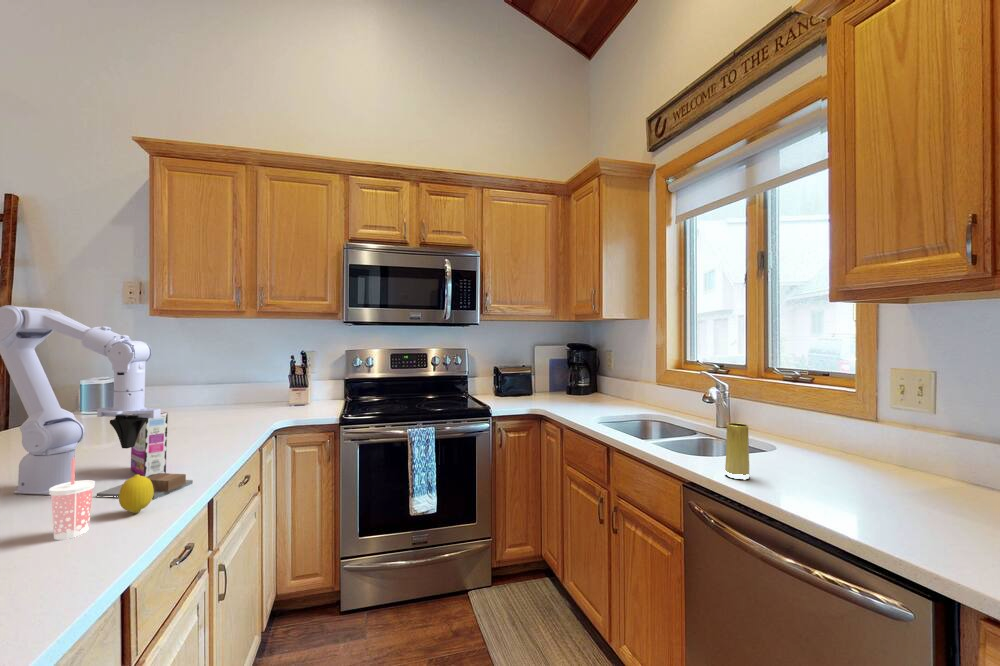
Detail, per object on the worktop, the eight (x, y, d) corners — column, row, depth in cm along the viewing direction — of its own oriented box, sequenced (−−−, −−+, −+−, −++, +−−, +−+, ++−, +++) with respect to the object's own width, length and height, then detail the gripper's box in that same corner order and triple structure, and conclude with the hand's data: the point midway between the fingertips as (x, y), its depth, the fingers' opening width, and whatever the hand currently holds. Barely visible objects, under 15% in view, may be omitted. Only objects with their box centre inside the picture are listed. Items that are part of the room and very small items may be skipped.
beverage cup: (91, 524, 85) (92, 452, 85) (97, 533, 81) (98, 457, 81) (45, 535, 80) (47, 458, 80) (50, 545, 76) (51, 464, 77)
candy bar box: (167, 473, 116) (168, 412, 117) (144, 478, 112) (145, 414, 113) (152, 466, 123) (153, 407, 123) (129, 470, 119) (130, 410, 119)
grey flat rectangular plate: (96, 496, 99) (96, 493, 99) (140, 481, 110) (140, 478, 110) (154, 499, 98) (154, 495, 98) (192, 483, 109) (192, 480, 109)
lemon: (133, 520, 87) (134, 479, 87) (111, 517, 88) (112, 477, 88) (160, 509, 93) (160, 471, 93) (138, 507, 94) (139, 469, 94)
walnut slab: (140, 479, 102) (168, 480, 101) (158, 473, 107) (185, 474, 106) (140, 490, 102) (168, 491, 101) (158, 483, 107) (185, 484, 106)
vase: (721, 473, 123) (721, 421, 123) (744, 474, 122) (744, 422, 122) (729, 479, 117) (729, 426, 117) (754, 481, 116) (754, 427, 116)
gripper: (84, 391, 102) (83, 450, 101) (142, 393, 100) (141, 452, 100) (113, 388, 109) (112, 443, 108) (168, 389, 107) (167, 445, 107)
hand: (128, 447), depth 105 cm, fingers closed
